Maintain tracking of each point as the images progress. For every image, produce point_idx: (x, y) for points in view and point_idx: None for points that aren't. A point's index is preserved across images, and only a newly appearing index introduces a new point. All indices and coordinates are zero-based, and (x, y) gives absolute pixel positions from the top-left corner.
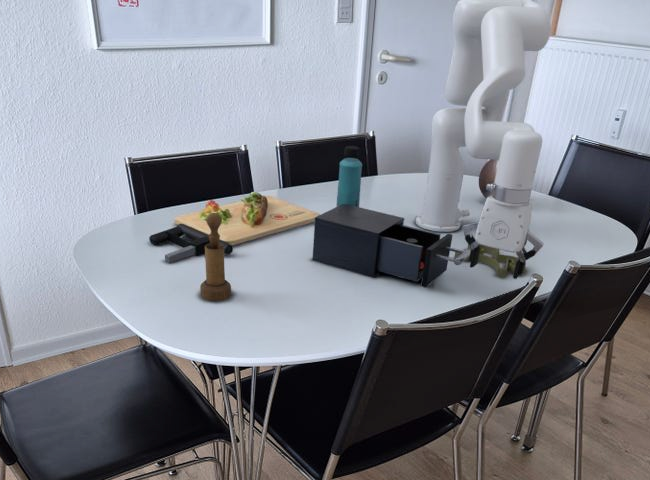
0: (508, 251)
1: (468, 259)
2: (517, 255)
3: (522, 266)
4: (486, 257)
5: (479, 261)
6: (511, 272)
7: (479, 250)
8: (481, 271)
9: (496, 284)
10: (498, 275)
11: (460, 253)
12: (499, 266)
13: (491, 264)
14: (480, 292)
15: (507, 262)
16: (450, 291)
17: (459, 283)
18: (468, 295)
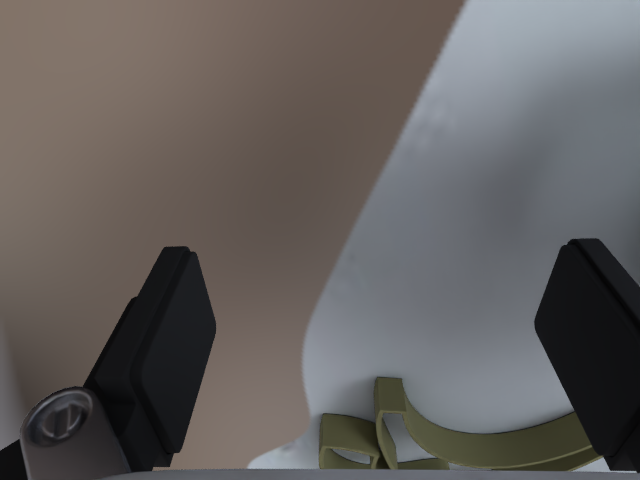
0: (195, 471)
1: (544, 431)
2: (118, 452)
3: (103, 354)
4: (478, 460)
5: (497, 437)
6: (358, 421)
7: (593, 427)
8: (471, 383)
9: (377, 319)
10: (394, 382)
11: (591, 448)
12: (406, 425)
13: (446, 436)
14: (421, 201)
15: (388, 460)
16: (602, 101)
17: (554, 234)
18: (478, 120)
